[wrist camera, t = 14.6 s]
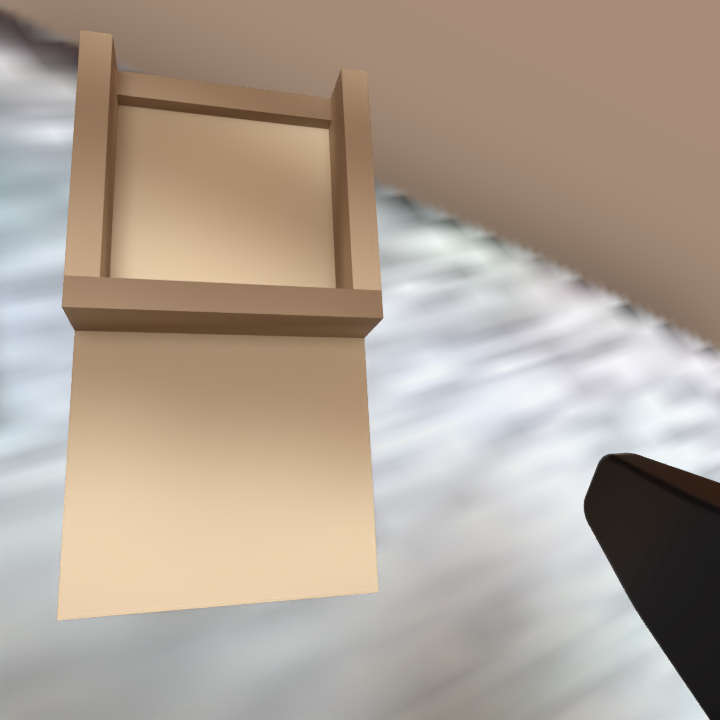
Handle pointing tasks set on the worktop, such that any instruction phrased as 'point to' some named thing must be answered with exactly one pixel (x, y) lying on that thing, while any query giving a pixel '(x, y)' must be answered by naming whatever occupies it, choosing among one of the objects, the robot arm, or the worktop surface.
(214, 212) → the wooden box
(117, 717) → the worktop surface
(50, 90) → the worktop surface
